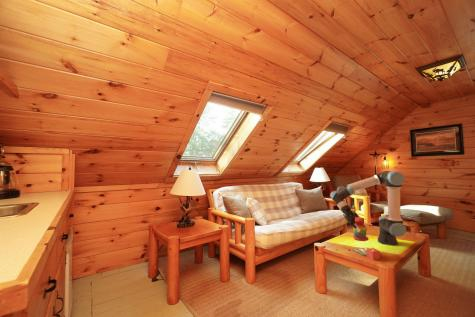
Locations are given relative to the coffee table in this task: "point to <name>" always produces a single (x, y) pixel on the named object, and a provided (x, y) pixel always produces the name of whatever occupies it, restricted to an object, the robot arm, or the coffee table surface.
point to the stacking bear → (362, 234)
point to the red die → (373, 254)
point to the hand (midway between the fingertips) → (363, 230)
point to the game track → (362, 251)
